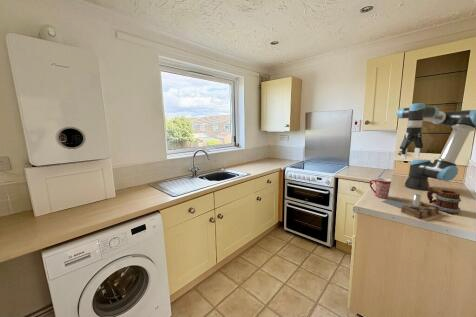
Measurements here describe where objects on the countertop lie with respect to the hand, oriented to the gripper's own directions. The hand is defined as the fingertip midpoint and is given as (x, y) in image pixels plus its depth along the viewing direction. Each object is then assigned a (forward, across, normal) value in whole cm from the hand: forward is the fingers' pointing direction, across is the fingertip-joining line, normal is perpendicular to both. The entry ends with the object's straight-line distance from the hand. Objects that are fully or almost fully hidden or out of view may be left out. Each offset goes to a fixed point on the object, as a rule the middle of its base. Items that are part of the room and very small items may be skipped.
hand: (409, 158), depth 135 cm
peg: (+29, +24, +19) cm, 42 cm away
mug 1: (+29, +15, -8) cm, 34 cm away
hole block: (+29, +19, +19) cm, 39 cm away
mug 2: (+29, +1, +21) cm, 36 cm away
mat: (+29, +16, +5) cm, 33 cm away
